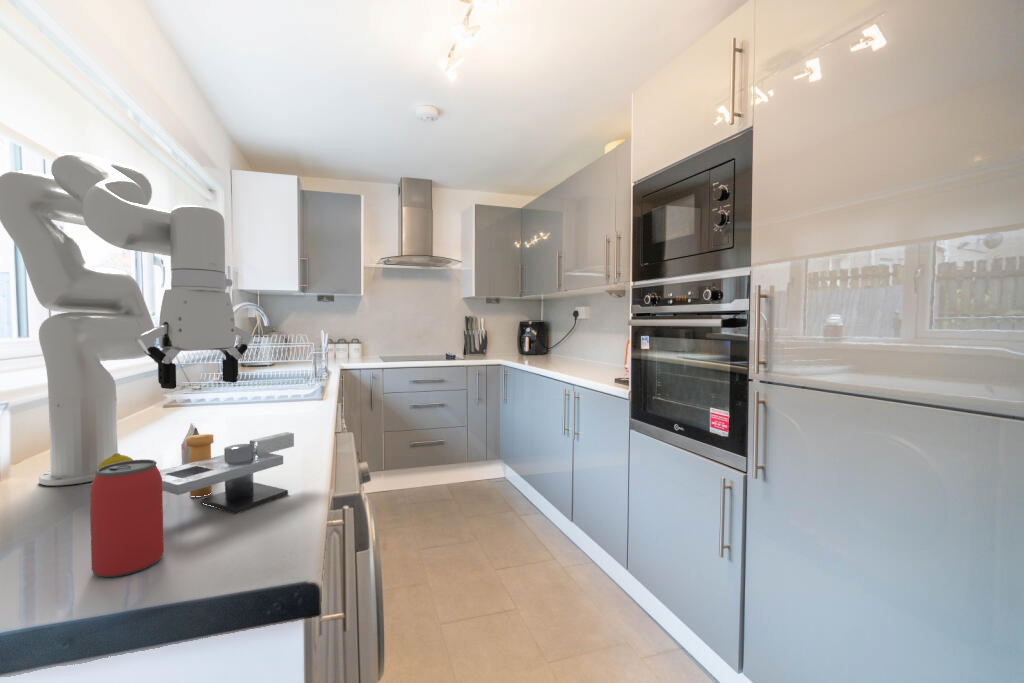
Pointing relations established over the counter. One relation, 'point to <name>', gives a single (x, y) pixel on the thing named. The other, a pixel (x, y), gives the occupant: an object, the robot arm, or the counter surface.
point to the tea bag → (184, 447)
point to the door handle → (232, 474)
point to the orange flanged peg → (200, 456)
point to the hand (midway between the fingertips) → (200, 384)
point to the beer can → (126, 518)
